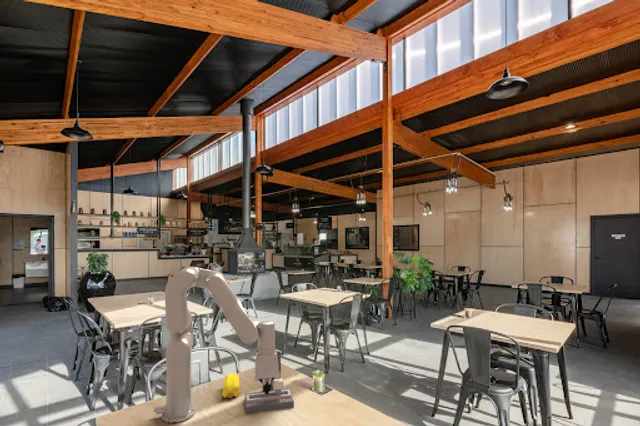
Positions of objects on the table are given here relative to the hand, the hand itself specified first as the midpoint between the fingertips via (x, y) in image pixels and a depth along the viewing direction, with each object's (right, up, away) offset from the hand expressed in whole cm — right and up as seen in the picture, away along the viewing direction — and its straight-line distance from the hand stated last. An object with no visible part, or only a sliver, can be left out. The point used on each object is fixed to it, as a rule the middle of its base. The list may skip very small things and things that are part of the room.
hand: (266, 392), depth 151 cm
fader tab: (+5, -2, +1) cm, 5 cm away
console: (+1, -4, 0) cm, 4 cm away
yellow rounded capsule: (-19, -6, +12) cm, 23 cm away
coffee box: (0, -6, +15) cm, 16 cm away
